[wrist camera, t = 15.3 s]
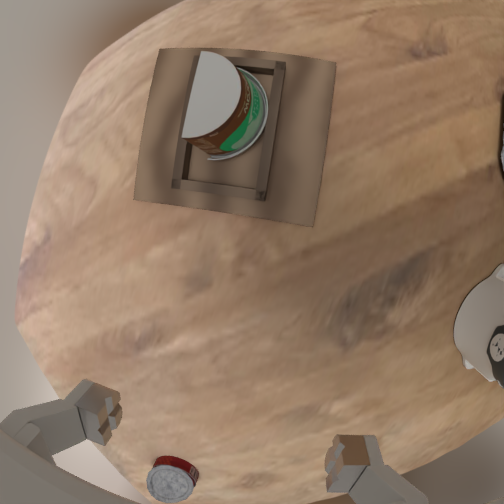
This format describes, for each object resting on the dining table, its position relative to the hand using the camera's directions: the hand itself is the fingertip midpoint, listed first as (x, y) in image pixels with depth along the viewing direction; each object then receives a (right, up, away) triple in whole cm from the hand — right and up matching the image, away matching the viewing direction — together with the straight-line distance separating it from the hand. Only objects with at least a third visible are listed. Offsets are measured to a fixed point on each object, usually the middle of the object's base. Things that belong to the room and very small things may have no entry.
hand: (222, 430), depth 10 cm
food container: (-2, +21, +16) cm, 26 cm away
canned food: (-15, -40, +43) cm, 61 cm away
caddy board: (-1, +22, +27) cm, 35 cm away
